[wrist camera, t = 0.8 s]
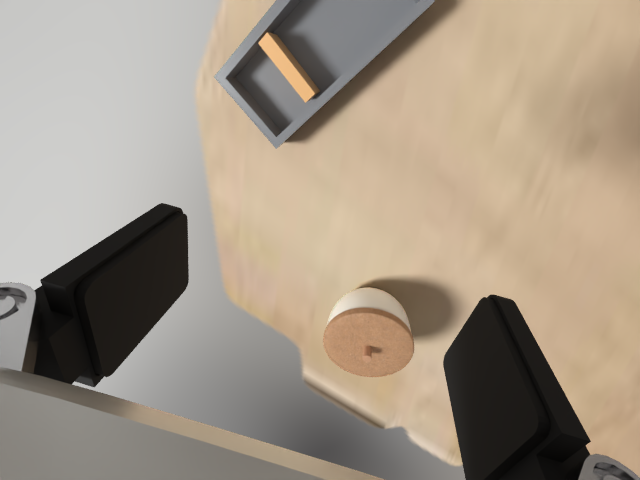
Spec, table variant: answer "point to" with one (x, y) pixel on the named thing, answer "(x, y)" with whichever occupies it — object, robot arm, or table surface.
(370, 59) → the gray tray
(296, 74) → the block
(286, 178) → the table surface
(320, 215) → the table surface
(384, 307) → the lidded jar
